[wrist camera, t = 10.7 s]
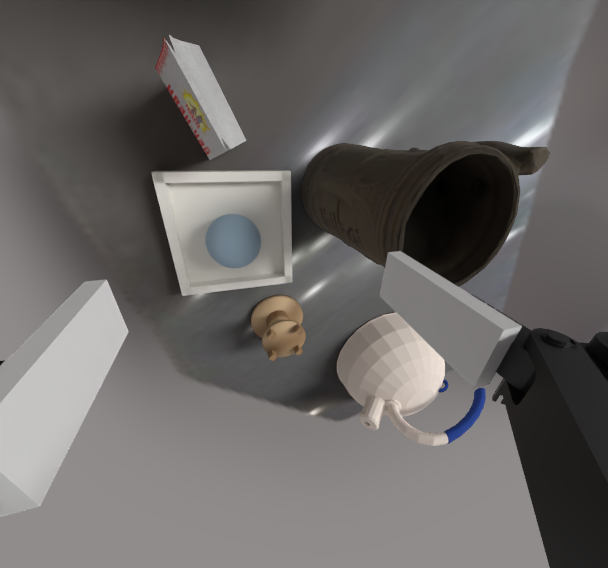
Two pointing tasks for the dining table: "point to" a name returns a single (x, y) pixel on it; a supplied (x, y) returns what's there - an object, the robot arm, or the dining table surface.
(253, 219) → the tray
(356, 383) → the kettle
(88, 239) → the dining table surface
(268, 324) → the stand
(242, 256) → the ball
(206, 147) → the white cardboard box
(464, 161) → the beer stein
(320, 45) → the dining table surface
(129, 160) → the dining table surface
